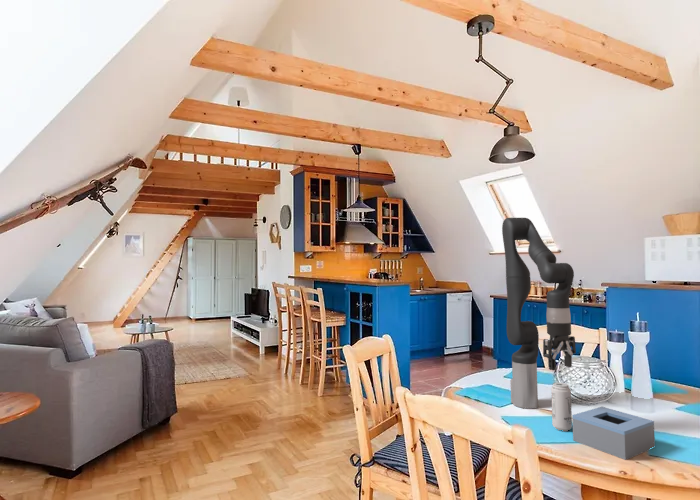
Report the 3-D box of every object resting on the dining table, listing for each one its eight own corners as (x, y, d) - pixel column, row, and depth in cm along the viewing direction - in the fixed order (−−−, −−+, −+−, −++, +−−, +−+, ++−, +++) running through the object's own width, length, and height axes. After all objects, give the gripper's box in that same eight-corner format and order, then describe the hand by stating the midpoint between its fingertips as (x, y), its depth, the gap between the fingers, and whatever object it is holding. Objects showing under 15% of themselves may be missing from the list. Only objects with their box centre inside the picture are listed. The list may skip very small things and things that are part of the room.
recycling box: (573, 440, 138) (572, 415, 138) (602, 430, 146) (601, 406, 146) (625, 459, 124) (624, 431, 125) (655, 447, 132) (653, 421, 132)
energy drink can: (569, 433, 144) (568, 387, 144) (550, 429, 148) (548, 384, 148) (574, 428, 148) (572, 384, 149) (555, 424, 152) (554, 381, 153)
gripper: (561, 318, 156) (563, 363, 156) (535, 321, 149) (537, 368, 149) (581, 320, 150) (583, 367, 149) (555, 323, 143) (556, 373, 142)
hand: (560, 368), depth 149 cm, fingers open, 8 cm apart
